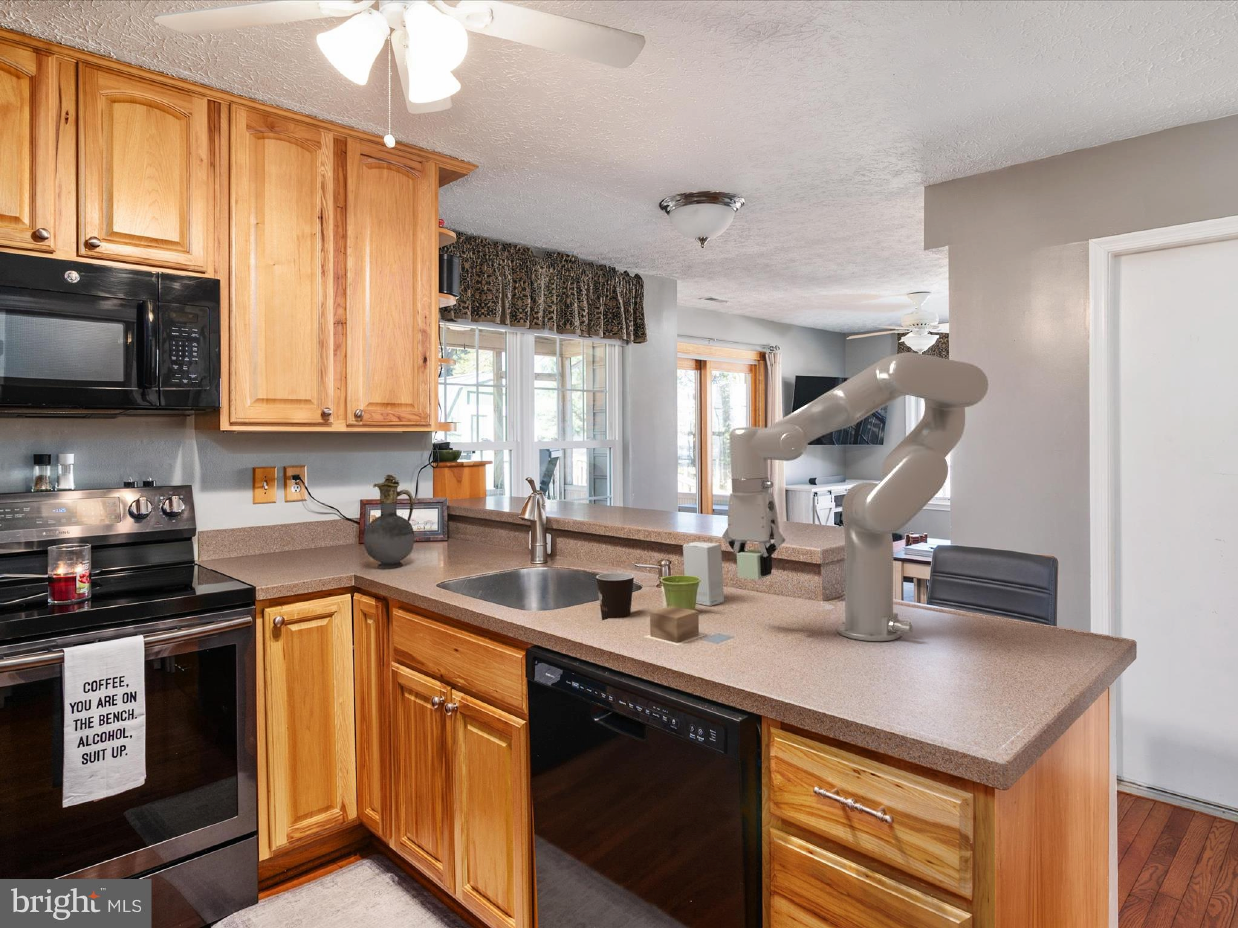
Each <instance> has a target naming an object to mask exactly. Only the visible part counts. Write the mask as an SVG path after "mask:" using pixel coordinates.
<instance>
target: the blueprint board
mask: <svg viewBox="0 0 1238 928" xmlns="http://www.w3.org/2000/svg"><path fill="white" fill-rule="evenodd" d="M705 636H706V634H702V633H699V636H696V637H693V638H690V639H687V640H685V641H682V642H679V643H675V642H671V641H666V640H662V639H658V638H654V637H650V634H648V635H644V636H643V638H646V639H651V640H653V641H659V642H662V643H666V644H670V645H675V646H680V645H683V644H686V643H688V642H689V643H690V642H692V641H694V640H697V639H699V638H701V639H700V641H706V642H709V643H714V644H719V643H722V642H725V641H727V640H730V639H733V638H735V636H733V635H728V634H724V633H721V632H720V633H719V632H717V633H715V634H712V635H710V636H706V637H705ZM703 637H704V638H703Z"/></svg>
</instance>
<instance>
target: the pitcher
mask: <svg viewBox="0 0 1238 928" xmlns="http://www.w3.org/2000/svg"><path fill="white" fill-rule="evenodd" d="M383 479H384V481H383V482H379V483H373V484H372V487H373V488H374V489H375V488H377V489H378V491H379V503H380V515H379V516H377V517H376V518H374V519H372V520H371V521H370V522H369V523H368V524H367V526H366V528H365V531H364V534H363V546H364V550H365V551H366V554H367V555H368V556H369V557H370V558H372V560H375V561H376V562H379V564H377V568H378V569H379V568H380V569H381V570H391V569H399V568H401V567H402V566H404V565H403V563H402V562H401V561H403V560H404V559H405V558H407V557H408V556H409V555H410V554H411V553H412V551H413V549H414V544H415V532H414V528H413V526H412V524H411V522H410V521H411V519H412V515H413V511H414V506H415V505H414V504H415V501H414V500H415V499H414V497H413V495H412V492H411V491H410V490H409V489H402V490H401V489H400V490H399V491H398V487H399V486H400V482H399V481H400V480H399V479H397V477H396V476H393V474H386V475H385V476H384V477H383ZM402 495H406V496H407V497H408V499H409V502H410V503H409V513H408V517H407V519H406V518H405V517H403V516H400V515H398V514H397V513H398V512H397V511H398V510H397V502H398V498H399V497H400V496H402Z"/></svg>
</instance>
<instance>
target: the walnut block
mask: <svg viewBox="0 0 1238 928" xmlns="http://www.w3.org/2000/svg"><path fill="white" fill-rule="evenodd" d="M649 614H650V615H649V631H650V632H649V633H650V634H649V635H650V637H654V638H658V639H662V640H666V641H671V642H675V643H679V642H682V641H685V640H687V639H690V638H693V637H696V636H699V634H700V630H699V629H700V625H699V623H700V621H699V614H700V613H699V610H696V609H695V610H690V609H685V608H680V607H675V606H670V607H667V606H666V607H664V608H660V609H658V610H653V611H650V612H649Z"/></svg>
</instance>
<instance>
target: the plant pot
mask: <svg viewBox="0 0 1238 928" xmlns="http://www.w3.org/2000/svg"><path fill="white" fill-rule="evenodd" d="M700 581H701V579H700V578H699V577H695V576H688V575H683V574H682V575H679V574H678V575H677V574H676V575H669V576H663V577H661V578H660V583H662V587H663V591H664V597H665V603H666V608H667V607H670V606H675V607H680V608H685V609H690V610H695V611H696V606H697V603H696V597H697V589H698V587H699V582H700Z"/></svg>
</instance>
